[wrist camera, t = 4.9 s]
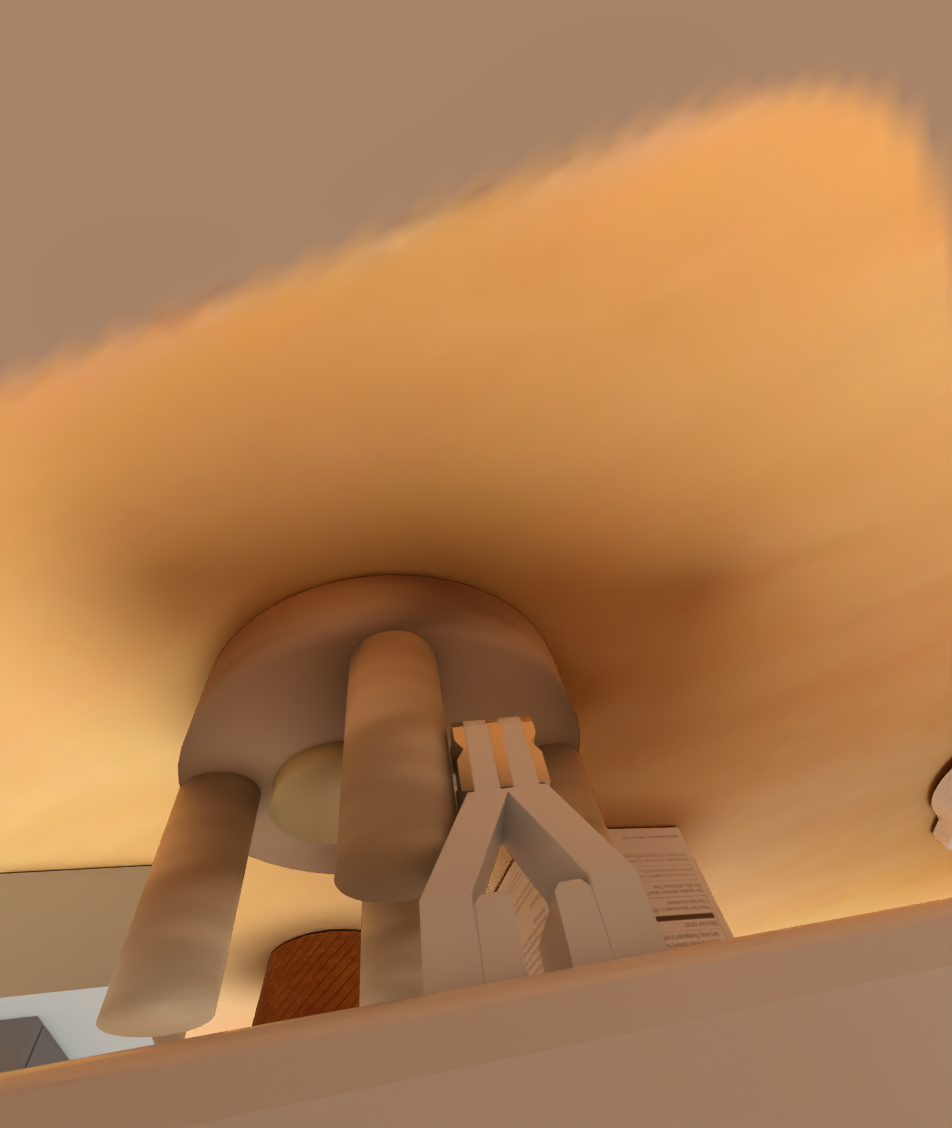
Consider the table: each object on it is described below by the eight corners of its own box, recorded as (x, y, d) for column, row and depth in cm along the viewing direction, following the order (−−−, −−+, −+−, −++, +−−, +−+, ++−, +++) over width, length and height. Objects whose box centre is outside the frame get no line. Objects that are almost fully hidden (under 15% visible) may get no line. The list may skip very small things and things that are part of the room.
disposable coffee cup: (326, 899, 25) (291, 1343, 15) (442, 939, 30) (473, 1288, 20) (198, 969, 27) (93, 1398, 17) (327, 995, 32) (304, 1336, 22)
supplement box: (615, 902, 31) (769, 1343, 19) (480, 911, 28) (556, 1427, 16) (684, 823, 26) (949, 1339, 14) (530, 825, 24) (688, 1455, 12)
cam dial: (593, 568, 15) (737, 800, 9) (531, 795, 22) (590, 1016, 16) (155, 575, 13) (-50, 890, 7) (237, 825, 20) (171, 1097, 13)
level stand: (170, 864, 21) (109, 1048, 16) (196, 988, 28) (159, 1140, 23) (-204, 884, 18) (-414, 1120, 13) (-66, 1018, 25) (-168, 1199, 20)
